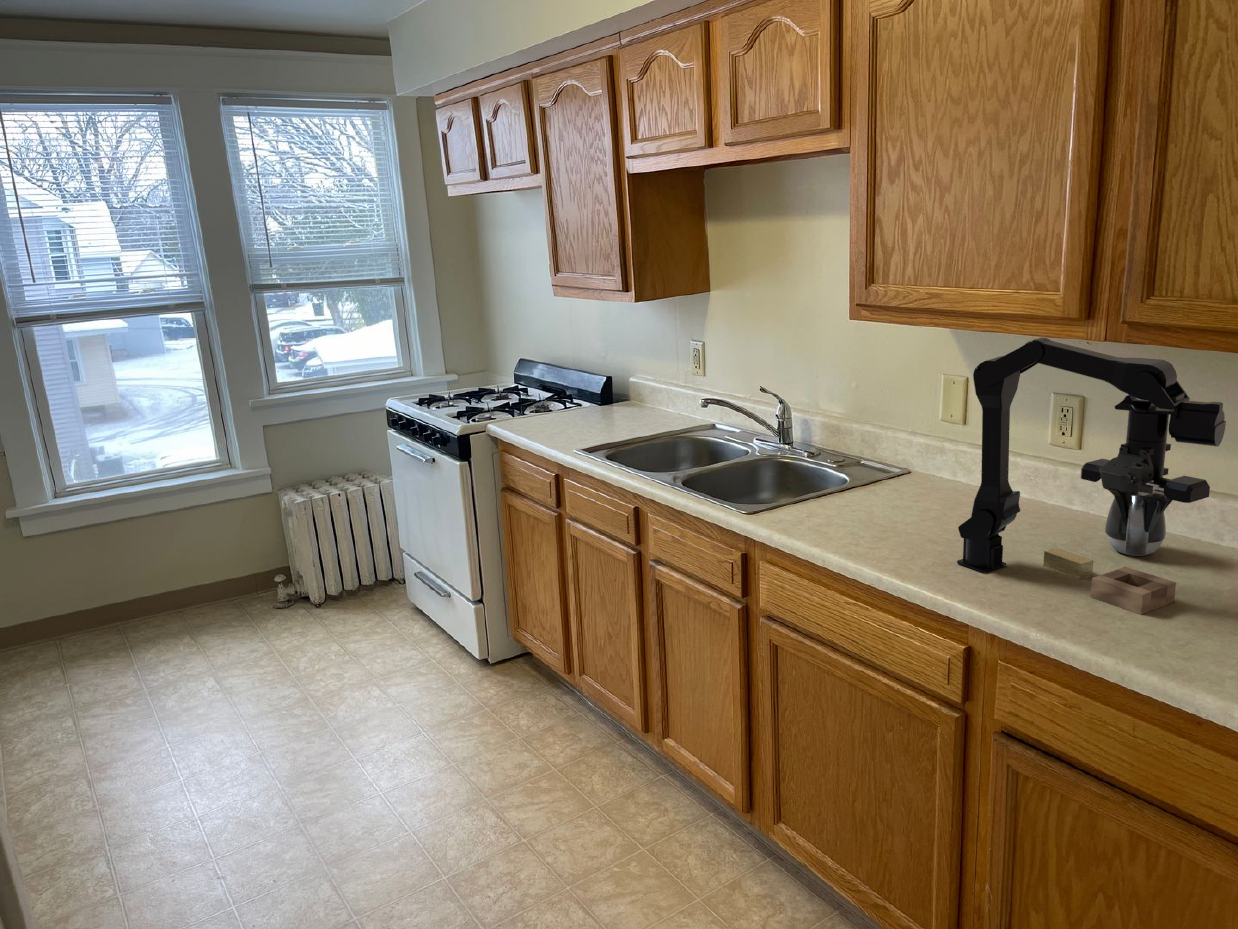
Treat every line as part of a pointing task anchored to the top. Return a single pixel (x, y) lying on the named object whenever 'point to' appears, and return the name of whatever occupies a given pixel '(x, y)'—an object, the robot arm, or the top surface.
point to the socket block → (1133, 590)
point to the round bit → (1136, 525)
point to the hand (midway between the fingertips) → (1137, 529)
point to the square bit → (1068, 563)
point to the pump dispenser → (1118, 530)
